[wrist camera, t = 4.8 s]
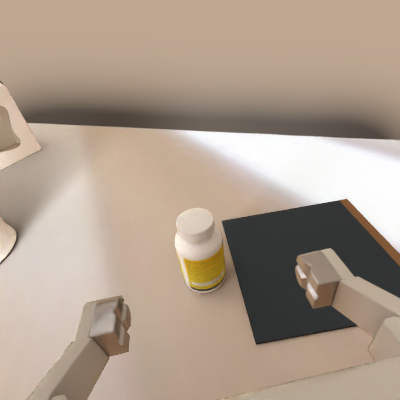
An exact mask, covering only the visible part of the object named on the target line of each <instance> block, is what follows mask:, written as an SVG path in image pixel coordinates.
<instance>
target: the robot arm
mask: <svg viewBox="0 0 400 400" xmlns="http://www.w3.org/2000/svg"><path fill="white" fill-rule="evenodd" d="M15 241H16V231H15V230H14V229H13V228H12V227H11V226H9V225H8V224H6V223H5V222H4V220H3V218H2V217H1V216H0V262H1V261H2V260H3V259H4V258H5V257H6V256H7V255H8V253H9V252H10V251H11V249H12V248H13V246H14V244H15ZM296 261H297V263H298V265H297V266H296V267H295V274H296V278H297V280H298V283H299V284H300V286H301V287H302V288H303V289H305V290H306V297H307V299H308V301H309V302H310V304H311V306H312V308H313V309H315V308H320V307H325V306H330V305H332V307H334V308H335V309H336V310H338V311H339V312H340V313H342V314H343V315H344V316H346V317H347V318H348V319H350V320H351V321H352V322H354V323H355V324H356V325H358V326H359V327H360V328H362V329H363V330H364V331H366V332H367V333H368V334H370V335H371V336H372V337H374V339H373V341H372V342H371V344H370V346H369V349H368V351H369V352H370V354H371V356H372V357H373V359H374V360H375V362H372V363H367V364H363V365H359V366H355V367H351V368H347V369H343V370H338V371H334V372H330V373H326V374H322V375H318V376H314V377H309V378H305V379H301V380H297V381H293V382H289V383H285V384H280V385H276V386H272V387H268V388H264V389H260V390H255V391H251V392H247V393H243V394H239V395H235V396H231V397H226V398H222V399H218V400H400V298H398V297H396V296H395V295H393V294H391V293H389V292H387V291H385V290H383V289H381V288H379V287H377V286H375V285H373V284H372V283H370V282H368V281H366V280H364V279H362V278H360V277H354V276H353V274H352V273H351V272H350V271H349V269H348V268H347V267H346V266H345V264H344V263H343V262H342V261H341V259H340V258H339V257H338V256H337V254H336V253H335V252H334V251H333V250H332V249H331V248H328V249H324V250H320V251H314V252H310V253H306V254H302V255H298V256H297V259H296ZM130 326H131V315H130V310H129V307H128V306H127V305H126V304H124V299H123V297H122V296H116V297H111V298H106V299H102V300H96V301H92V302H87V303H86V304H85V306H84V308H83V312H82V316H81V320H80V324H79V328H78V332H77V336H76V340H75V341H74V342H71V344H70V345H69V346H68V348H67V349H66V350H65V351H64V353H63V354H62V355H61V356H60V358H59V359H58V360H57V362H56V363H55V364H54V365H53V367H52V368H51V369H50V371H49V372H48V373H47V374H46V376H45V377H44V378H43V379H42V381H41V382H40V383H39V385H38V386H37V387H36V388H35V390H34V391H33V392H32V394H31V395H30V396H29V397H28V399H27V400H87V398H88V396H89V394H90V393H91V391H92V389H93V387H94V385H95V384H96V382H97V380H98V378H99V376H100V374H101V373H102V371H103V369H104V367H105V365H106V363H107V362H108V360H109V357H110V356H114V355H118V354H122V353H125V352H128V351H129V339H130V336H129V334H128V332H127V330H128V329H129V327H130Z"/></svg>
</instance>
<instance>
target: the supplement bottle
mask: <svg viewBox="0 0 400 400" xmlns="http://www.w3.org/2000/svg"><path fill="white" fill-rule="evenodd" d="M176 226H177V230H178V232H177V234H176V236H175V240H174V244H175V249H176V252H177V256H178V259H179V263H180V267H181V271H182V274H183V278H184V281H185V283H186V285H187V286H188V287H189V288H190V289H191V290H193V291H195V292H198V293H209V292H212V291H214V290H216V289H218V288H219V287H220V286H221V285H222V283H223V281H224V279H225V273H226V271H225V260H224V250H223V240H222V234H221V232H220V230H219V229H218V227H217V226H215V224H214V217H213V215H212V213H211V212H210V211H208V210H206V209H203V208H192V209H188V210H186V211H184V212H183V213H181V214H180V215H179V216H178V218H177V220H176Z"/></svg>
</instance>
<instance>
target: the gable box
mask: <svg viewBox="0 0 400 400" xmlns="http://www.w3.org/2000/svg"><path fill="white" fill-rule="evenodd" d="M39 150H41V147H40V145H39V144H38V142H37V140H36V138H35V137H34V135H33V133H32V131H31V130H30V128H29V126H28V125H27V123H26V121H25V119H24V118H23V116H22V114H21V112H20V111H19V109H18V107H17V105H16V104H15V102H14V100H13V99H12V97H11V95H10V93H9V92H8V90H7V88H6V86H5V85H4V84H3V83H2V82H1V81H0V170H2V169H4V168H6V167H8V166H10V165H12V164H14V163H16V162H18V161H20V160H22V159H24V158H26V157H28V156H30V155H31V154H33V153H35V152H37V151H39Z"/></svg>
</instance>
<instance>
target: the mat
mask: <svg viewBox="0 0 400 400" xmlns="http://www.w3.org/2000/svg"><path fill="white" fill-rule="evenodd" d="M222 223H223V227H224V230H225V234H226V237H227V241H228V245H229V248H230V252H231V255H232V259H233V262H234V266H235V270H236V273H237V277H238V280H239V284H240V288H241V291H242V295H243V298H244V302H245V305H246V309H247V313H248V316H249V320H250V323H251V327H252V331H253V334H254V338H255V341H256V344H260V343H266V342H271V341H277V340H282V339H287V338H293V337H298V336H304V335H309V334H315V333H320V332H325V331H331V330H336V329H342V328H347V327H352V326H358V325H356V324H355V323H354V322H352V321H351V320H350V319H348V318H347V317H346V316H344V315H343V314H342V313H340V312H339V311H338V310H336V309H335V308H334V307H332V305H330V306H325V307H320V308H315V309H313V308H312V306H311V304H310V302H309V301H308V299H307V297H306V290H305V289H303V288H302V287H301V286H300V284H299V283H298V280H297V278H296V274H295V267H296V266H297V265H298V263H297V261H296V259H297V256H298V255H302V254H306V253H310V252H314V251H320V250H324V249H328V248H331V249H332V250H333V251H334V252H335V253H336V254H337V256H338V257H339V258H340V259H341V261H342V262H343V263H344V264H345V266H346V267H347V268H348V269H349V271H350V272H351V273H352V274H353V276H354V277H360V278H362V279H364V280H366V281H368V282H370V283H372V284H373V285H375V286H377V287H379V288H381V289H383V290H385V291H387V292H389V293H391V294H393V295H395V296H396V297H398V298H400V254H399V253H398V252H397V251H396V250H395V249H394V248H393V247H392V246H391V245H390V244H389V242H388V241H387V240H386V239H385V238H384V237H383V236H382V235H381V234H380V233H379V232H378V231H377V230H376V229H375V228H374V227H373V226H372V225H371V224H370V223H369V222H368V221H367V220H366V218H365V217H364V216H363V215H362V214H361V213H360V212H359V211H358V210H357V209H356V208H355V207H354V206H353V205H352V204H351V203H350V202H349V201H348V200H347V199H344V200H339V201H333V202H328V203H322V204H316V205H310V206H305V207H299V208H293V209H288V210H282V211H276V212H270V213H265V214H259V215H253V216H248V217H242V218H236V219H230V220H225V221H222Z"/></svg>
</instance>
